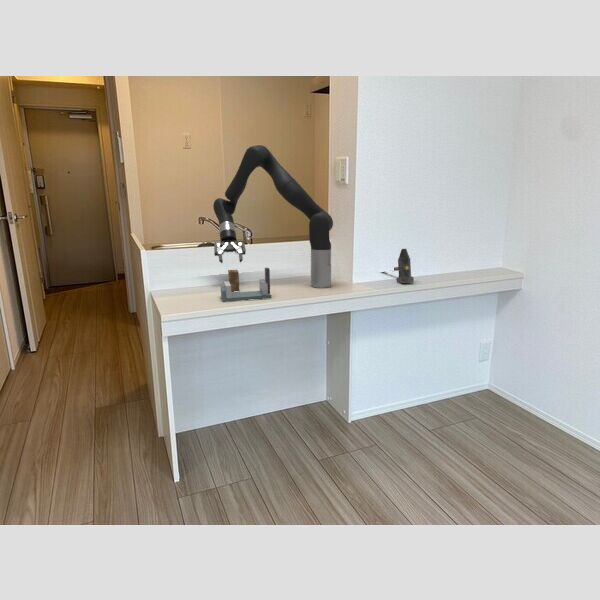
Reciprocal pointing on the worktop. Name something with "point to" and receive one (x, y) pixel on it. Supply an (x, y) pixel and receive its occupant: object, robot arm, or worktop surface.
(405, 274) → the dark tapered tower
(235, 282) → the block
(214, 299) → the worktop surface
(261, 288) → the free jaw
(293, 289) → the worktop surface
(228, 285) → the vise
